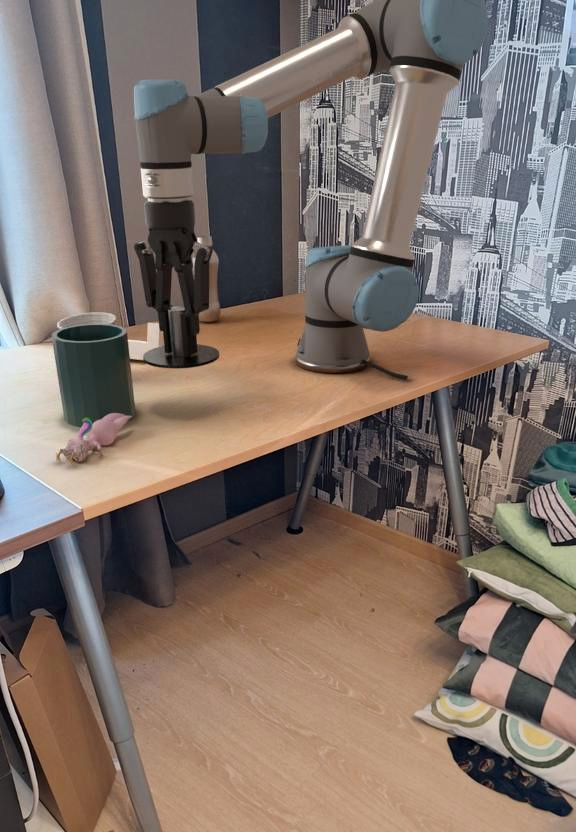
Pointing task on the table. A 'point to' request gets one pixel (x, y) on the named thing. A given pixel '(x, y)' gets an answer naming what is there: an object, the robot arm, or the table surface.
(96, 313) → the plastic cup
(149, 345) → the bracket
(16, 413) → the table surface
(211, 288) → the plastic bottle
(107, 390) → the cup
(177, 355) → the lid
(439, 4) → the robot arm
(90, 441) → the pink toy creature
